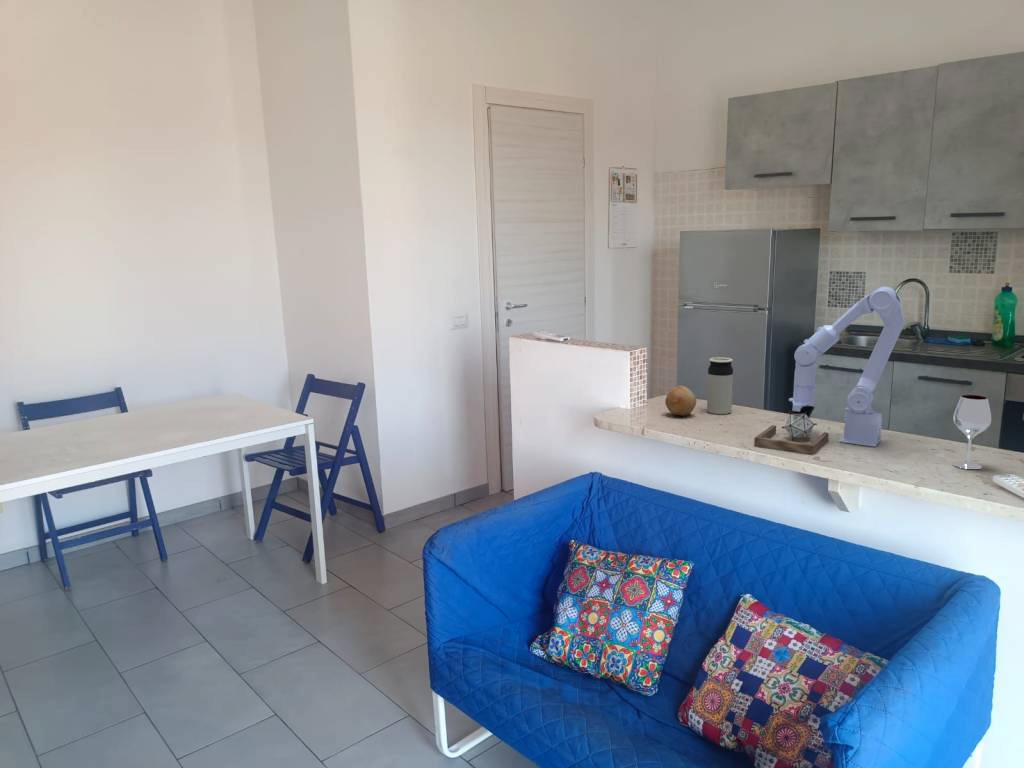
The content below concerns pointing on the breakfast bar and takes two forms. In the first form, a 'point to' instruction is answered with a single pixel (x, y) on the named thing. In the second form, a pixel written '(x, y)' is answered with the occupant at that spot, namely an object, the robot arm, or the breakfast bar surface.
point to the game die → (799, 425)
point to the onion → (680, 401)
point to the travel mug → (720, 386)
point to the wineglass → (971, 422)
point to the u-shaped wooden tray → (788, 442)
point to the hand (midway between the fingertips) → (801, 430)
